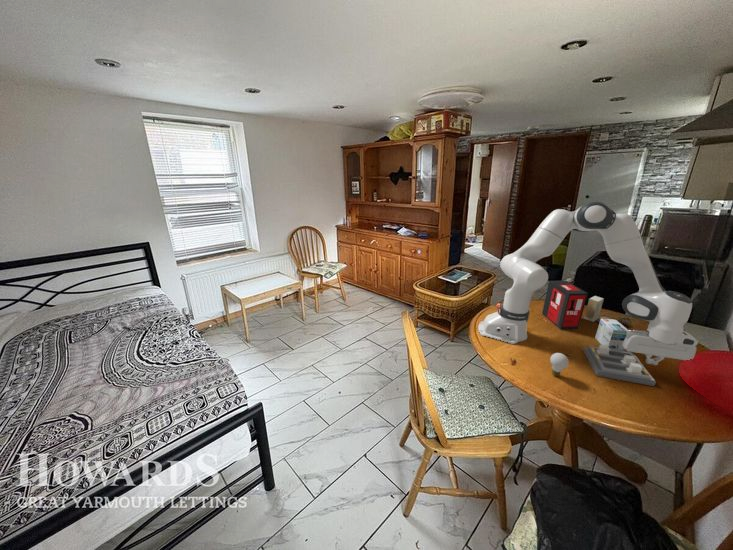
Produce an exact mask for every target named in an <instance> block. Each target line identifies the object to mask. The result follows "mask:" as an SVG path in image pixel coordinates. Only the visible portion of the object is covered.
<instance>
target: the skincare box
mask: <svg viewBox="0 0 733 550" xmlns="http://www.w3.org/2000/svg"><path fill="white" fill-rule="evenodd" d="M604 299H605V298H603V297H600V296H597V295H594V296H592V297H590V298H588V301H587V302H588V303H587V307H586V310H585V313H584V317H583V319H584V320H587V321H588V322H589V321H590V322H591V323H593V322H596V321H597V320H598V319H599V316H600V314H601V310H602V306H603V303H604Z"/></svg>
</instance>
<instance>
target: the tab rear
mask: <svg viewBox="0 0 733 550" xmlns="http://www.w3.org/2000/svg"><path fill="white" fill-rule="evenodd" d="M598 347H599V348H598V350H596V353H600V354H606V355H609V350H610V349H609V347H608V346H605V345H601V344H599V346H598Z"/></svg>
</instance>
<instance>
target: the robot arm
mask: <svg viewBox="0 0 733 550" xmlns="http://www.w3.org/2000/svg"><path fill="white" fill-rule="evenodd" d="M571 231H576V232H581V233H586V232H587V233H588V232H591V231H597V232H598V233H600V235H601V237H602V239H603V244H604V247H605V251H606V253H607V255H608V256H609V258H610V259H611V260H612V261H613V262H615V263H618V264H622V265H625V266H627V267H628V268H629V269H630V270H631V271H632V272H633V275H634V278H635V280H636V283H637V285H638V288H639V290H638V291H637V292H635V293H632V294H629V295H628V296H626V297H625V298H624V299H623V300H622V303H621V305H622V306H621V307H622V309H623V311H624V312H625V313H626V314H627V315H629V316H630V317H633V318H636V319H640V320H645V321H649V324H648V327H647V329H646V330H643V329H640V330H638V329H631V330H629V331H628V332H627V335H626V338H625V339H624V341H623V344H622V345H623V347H624V351H625V352H632V353H637V354H642V355H645V358H646V359H645V363H646V364H647V365H648V364H649V365H654V366H658V364H659V363H660V362H661V361H663V360H665V358H669V359H675V360H681V361H686V360H690V359H692V360H693V359H694V357H695V356H696V352H697V345H698V344H699V341H698V339H696V338H695V337H694V336H693V335H691V334H690V333H689V332H687V331H684V325H685V324H687V322H688V320H689V318H690V315H691V312H692V309H693V301H692V299H691V298H690V297H689V296H687V295H686V294H684V293H681V292H679V291H672V290H666V288H664V287H663V286H662V284H661V282H660V279H659V276H658V274H657V272H656V270H655V267H654V265H653V263H652V261H651V260H652V259H651V258H650V257H649V255H648V253H647V250H646V248H645V246H644V242H643V239H642V236H641V233H640V230H639V228H638V226H637V223H636V222H635V220H634V218H633V217H632V216H631V215H630V214H628V213H624V212H623V213H621V212H620V213H616V212H615V211H613V210H612V209H611V208H610V207H609V206H608V205H606V204H605V203H603V202H600V201H591V202H587V203H585V204H584V205H581V206H580V207H578V208H576V209H575V210H574V211H569V210H566V209H562V208H557V209H555V210H553V211H551V212H550V213H549V214H548V215H547V216H546V217H545V218H544V219H543V220H542V222H541V223H540V224H539V226H538V227H537V228H536V229H535V230H534V232H533V233H532V234H531V236H530V237H529V239H528V240H527V241H526V242H525V243H524V244H523V245H522V246H521V247H520V248H518V249H517V250H515V251H514V252H512V253H510V254H509V253H508V254H507V255H505V256H503V258H502V259H501V261H500V264H499V266H500V269H501V270H502V272H503V274H505V275H506V276H507V277H508V278H510V279H512V280H513V285H512V286H511V288H508V289H507V290H506V291H505V293H504V298H503V304H501V303H500V302H499V303H497V304H496V307H497V311H495V312H493V313H490V314H487V315H486V316H485V318H484V320H481V321H480V322H479V323H478V327H477V330H479V331H478V333H479V332H480V333H479V335H480V336H482V337H484V336H486V337H485V338H488V337H490V338H489V339H492V338H494V339H493V340H496V339H497V341H500V340H501V342H503V341H504V343H507V342H508V343H507V344H511V345H515V344H517V343H519V342H523V341H526V340H527V339H528V333H527V325H528V324H527V323H528V321H529V318H530V305H531V301H532V297H533V295H534V294H535V292H536V291H537V290H540V289H542V288H543V287H544V286H545V285H546V284H547V283H548V282H549V281H548V280H549V273H548V272H547V270H545V269H544V268H543V267H542V265H540V264H538V263H537V262H538V261H540V260H542V259H543V258H546V257H547V258H548V257H550V256H551V255H552V254H553V253H554V252H555V251H556V250H557V248H558V247H559V246H560V245H561V243H562V242H563V241H564V239H565V237H566V236H567V235H568V234H569V233H570V232H571ZM653 356H656V357H654V358H653ZM690 361H691V360H690Z"/></svg>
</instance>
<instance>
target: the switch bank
mask: <svg viewBox="0 0 733 550" xmlns="http://www.w3.org/2000/svg"><path fill="white" fill-rule="evenodd" d="M598 348H599V346H592V345H589V347H587V346H584V348H583V353H584V355H585V357H586V359H587V360H588V362H589V364H590V367H591V368H592V370H593V372H594V374H595V375H596V376H597V377H604V378H608V379H614V380H619V381H624V382H630V383H635V384H641V385H647V386H652V387H655V385H656V383H657V382H656V380H655V379H654V377H653V376H652V374H651V373H650V372H649V371H648V370H647V369H646V367H645V366H644V364H643V363H642V362H641V361H640V359H639V358H638V357H637V356H636V354H634V353H633V352H629V351H626V350H624V351H619V350H613V349H610V350H609V355H606V354H600V353H596V350H598ZM625 355H629V356H634V357H635V359H636V362H635V363H638V364H640V365H641V366H642V371H641V373H642V374H638V373H633V372H627V370H626V367H627V368H629V365H627V364H622V363H621V362H620V360H623V359H624V356H625Z"/></svg>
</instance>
